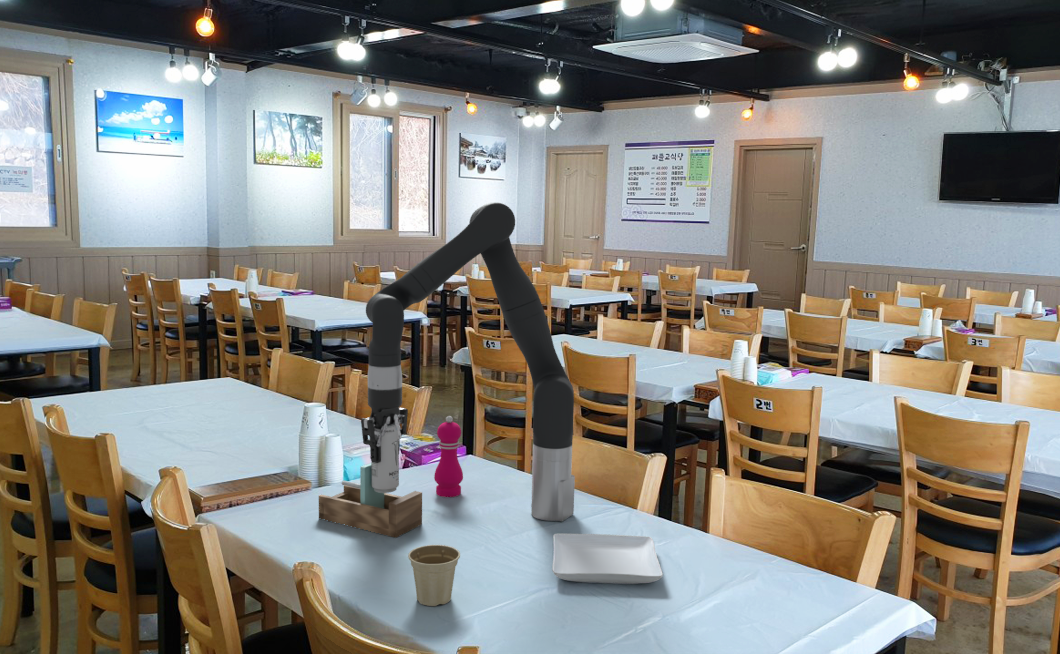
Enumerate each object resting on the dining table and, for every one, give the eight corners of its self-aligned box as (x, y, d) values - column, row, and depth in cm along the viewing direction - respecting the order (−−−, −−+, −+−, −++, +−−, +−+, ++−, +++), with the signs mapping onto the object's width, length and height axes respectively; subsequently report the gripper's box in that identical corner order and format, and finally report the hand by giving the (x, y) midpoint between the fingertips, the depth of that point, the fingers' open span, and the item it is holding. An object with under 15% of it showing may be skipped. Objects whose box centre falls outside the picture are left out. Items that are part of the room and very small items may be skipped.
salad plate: (552, 546, 184) (553, 531, 183) (651, 549, 183) (652, 534, 183) (551, 588, 163) (552, 571, 162) (663, 593, 162) (664, 576, 162)
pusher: (384, 510, 197) (384, 460, 196) (364, 519, 191) (364, 467, 189) (353, 503, 201) (352, 454, 200) (333, 512, 195) (332, 461, 194)
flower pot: (409, 588, 161) (409, 544, 160) (459, 587, 162) (460, 543, 161) (406, 611, 152) (406, 564, 150) (459, 610, 152) (460, 564, 151)
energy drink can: (396, 494, 189) (395, 427, 187) (369, 493, 189) (368, 427, 187) (401, 485, 195) (400, 421, 193) (374, 485, 195) (374, 420, 193)
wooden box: (422, 524, 194) (422, 492, 193) (396, 537, 186) (396, 504, 185) (346, 506, 204) (346, 476, 203) (318, 518, 196) (318, 487, 195)
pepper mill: (458, 499, 212) (459, 420, 209) (430, 496, 213) (430, 418, 210) (466, 490, 219) (467, 413, 216) (439, 487, 220) (439, 411, 217)
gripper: (377, 392, 181) (378, 469, 183) (418, 381, 193) (418, 453, 195) (350, 388, 184) (351, 464, 186) (391, 378, 197) (391, 449, 199)
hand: (385, 458), depth 191 cm, fingers closed on energy drink can, 6 cm apart
